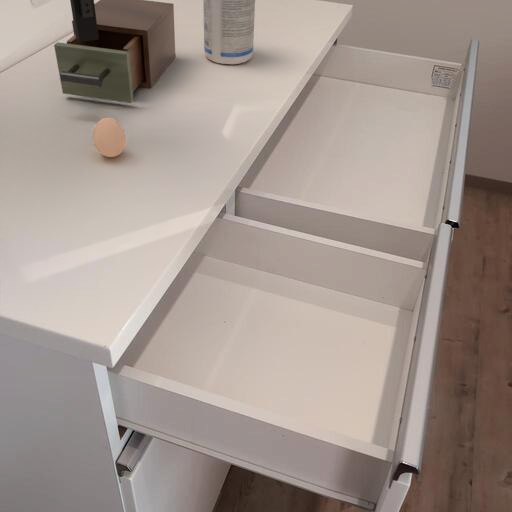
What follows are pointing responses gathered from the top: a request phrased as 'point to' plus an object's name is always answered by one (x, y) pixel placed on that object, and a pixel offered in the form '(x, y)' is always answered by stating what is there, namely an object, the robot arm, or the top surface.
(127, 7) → the cabinet
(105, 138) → the egg
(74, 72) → the drawer
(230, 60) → the supplement tub
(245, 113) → the top surface
